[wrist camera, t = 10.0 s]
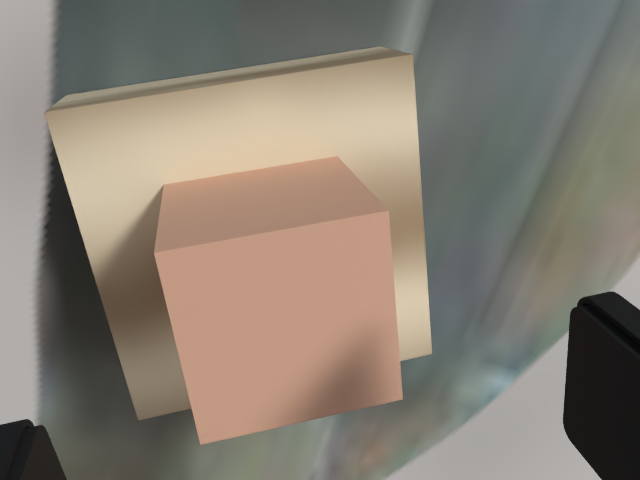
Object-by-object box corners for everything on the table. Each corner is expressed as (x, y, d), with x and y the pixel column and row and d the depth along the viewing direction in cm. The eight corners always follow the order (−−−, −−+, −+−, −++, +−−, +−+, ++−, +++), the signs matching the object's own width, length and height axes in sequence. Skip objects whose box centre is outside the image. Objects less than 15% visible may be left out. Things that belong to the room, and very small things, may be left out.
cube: (163, 184, 19) (153, 252, 14) (337, 155, 19) (388, 210, 14) (198, 336, 21) (200, 444, 16) (353, 306, 21) (402, 399, 16)
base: (67, 94, 20) (43, 112, 17) (380, 46, 22) (412, 54, 19) (145, 366, 25) (138, 420, 21) (402, 310, 26) (431, 353, 23)
